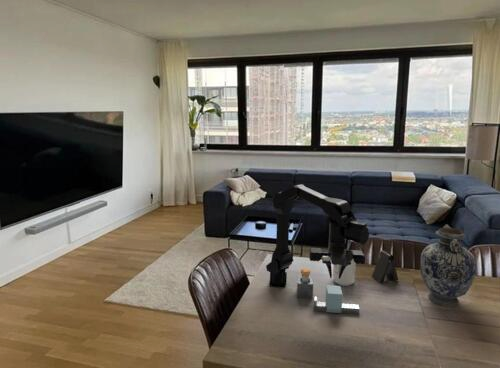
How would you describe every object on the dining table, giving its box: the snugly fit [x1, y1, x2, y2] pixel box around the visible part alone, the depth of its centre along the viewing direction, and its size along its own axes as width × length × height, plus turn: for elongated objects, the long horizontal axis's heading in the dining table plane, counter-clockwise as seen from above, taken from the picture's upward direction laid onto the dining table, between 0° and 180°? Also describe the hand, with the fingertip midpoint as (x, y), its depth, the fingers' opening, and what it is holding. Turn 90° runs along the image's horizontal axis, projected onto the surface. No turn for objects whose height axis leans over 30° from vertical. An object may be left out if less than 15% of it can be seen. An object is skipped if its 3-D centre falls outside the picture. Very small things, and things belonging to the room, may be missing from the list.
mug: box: [332, 259, 357, 287], centre depth 151 cm, size 12×9×11 cm
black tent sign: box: [371, 250, 399, 284], centre depth 153 cm, size 9×6×12 cm, turn 104°
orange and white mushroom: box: [300, 268, 311, 283], centre depth 139 cm, size 4×4×7 cm
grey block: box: [325, 284, 344, 314], centre depth 128 cm, size 5×6×7 cm
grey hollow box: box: [296, 275, 314, 300], centre depth 139 cm, size 6×6×6 cm
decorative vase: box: [419, 224, 478, 308], centre depth 134 cm, size 21×19×28 cm
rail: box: [312, 296, 360, 315], centre depth 129 cm, size 16×3×4 cm, turn 83°
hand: (335, 278), depth 127 cm, fingers open, 3 cm apart
